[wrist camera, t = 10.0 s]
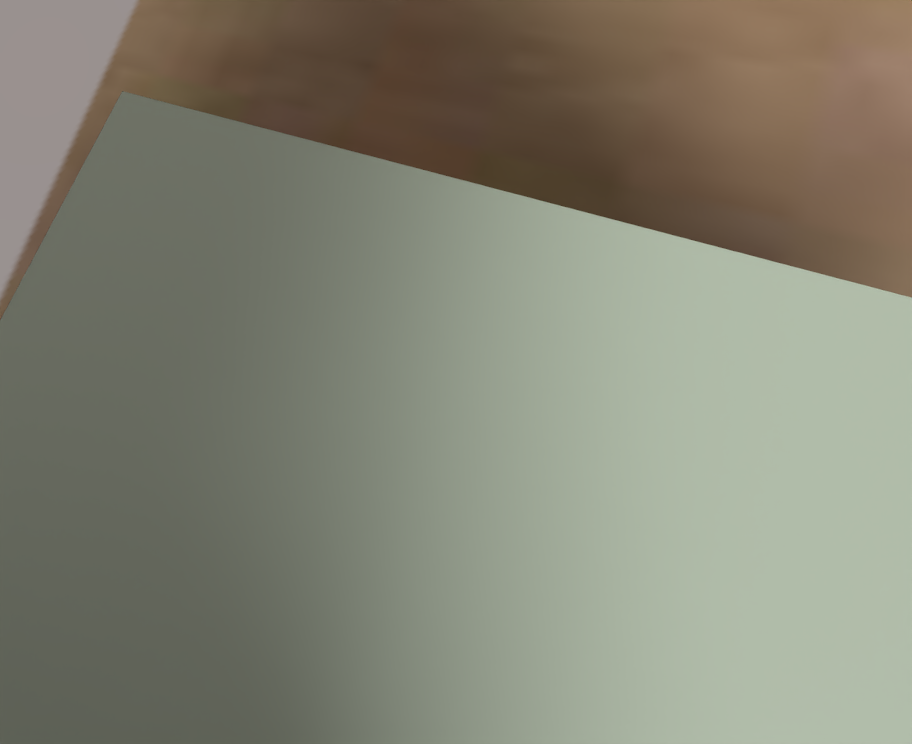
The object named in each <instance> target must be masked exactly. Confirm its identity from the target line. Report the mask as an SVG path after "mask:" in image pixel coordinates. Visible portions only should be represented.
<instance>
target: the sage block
mask: <svg viewBox="0 0 912 744" xmlns="http://www.w3.org/2000/svg"><path fill="white" fill-rule="evenodd" d="M0 744H912V298H911V297H907V296H903V295H899V294H896V293H892V292H888V291H884V290H880V289H877V288H873V287H869V286H865V285H861V284H857V283H854V282H850V281H846V280H842V279H838V278H834V277H831V276H827V275H823V274H819V273H815V272H812V271H808V270H804V269H800V268H796V267H792V266H789V265H785V264H781V263H777V262H773V261H770V260H766V259H762V258H758V257H754V256H750V255H747V254H743V253H739V252H735V251H731V250H727V249H724V248H720V247H716V246H712V245H708V244H705V243H701V242H697V241H693V240H689V239H685V238H682V237H678V236H674V235H670V234H666V233H663V232H659V231H655V230H651V229H647V228H643V227H640V226H636V225H632V224H628V223H624V222H620V221H617V220H613V219H609V218H605V217H601V216H598V215H594V214H590V213H586V212H582V211H578V210H575V209H571V208H567V207H563V206H559V205H556V204H552V203H548V202H544V201H540V200H536V199H533V198H529V197H525V196H521V195H517V194H513V193H510V192H506V191H502V190H498V189H494V188H491V187H487V186H483V185H479V184H475V183H471V182H468V181H464V180H460V179H456V178H452V177H449V176H445V175H441V174H437V173H433V172H429V171H426V170H422V169H418V168H414V167H410V166H406V165H403V164H399V163H395V162H391V161H387V160H384V159H380V158H376V157H372V156H368V155H364V154H361V153H357V152H353V151H349V150H345V149H342V148H338V147H334V146H330V145H326V144H322V143H319V142H315V141H311V140H307V139H303V138H299V137H296V136H292V135H288V134H284V133H280V132H277V131H273V130H269V129H265V128H261V127H257V126H254V125H250V124H246V123H242V122H238V121H235V120H231V119H227V118H223V117H219V116H215V115H212V114H208V113H204V112H200V111H196V110H192V109H189V108H185V107H181V106H177V105H173V104H170V103H166V102H162V101H158V100H154V99H150V98H147V97H143V96H139V95H135V94H131V93H128V92H124V91H122V93H121V95H120V97H119V99H118V100H117V102H116V104H115V106H114V108H113V110H112V112H111V114H110V115H109V117H108V119H107V121H106V123H105V125H104V127H103V129H102V130H101V132H100V134H99V136H98V138H97V140H96V142H95V144H94V145H93V147H92V149H91V151H90V153H89V155H88V157H87V159H86V160H85V162H84V164H83V166H82V168H81V170H80V172H79V174H78V175H77V177H76V179H75V181H74V183H73V185H72V187H71V189H70V190H69V192H68V194H67V196H66V198H65V200H64V202H63V204H62V205H61V207H60V209H59V211H58V213H57V215H56V217H55V219H54V220H53V222H52V224H51V226H50V228H49V230H48V232H47V234H46V235H45V237H44V239H43V241H42V243H41V245H40V247H39V249H38V251H37V252H36V254H35V256H34V258H33V260H32V262H31V264H30V266H29V267H28V269H27V271H26V273H25V275H24V277H23V279H22V281H21V282H20V284H19V286H18V288H17V290H16V292H15V294H14V296H13V297H12V299H11V301H10V303H9V305H8V307H7V309H6V311H5V312H4V314H3V316H2V318H1V320H0Z"/></svg>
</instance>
